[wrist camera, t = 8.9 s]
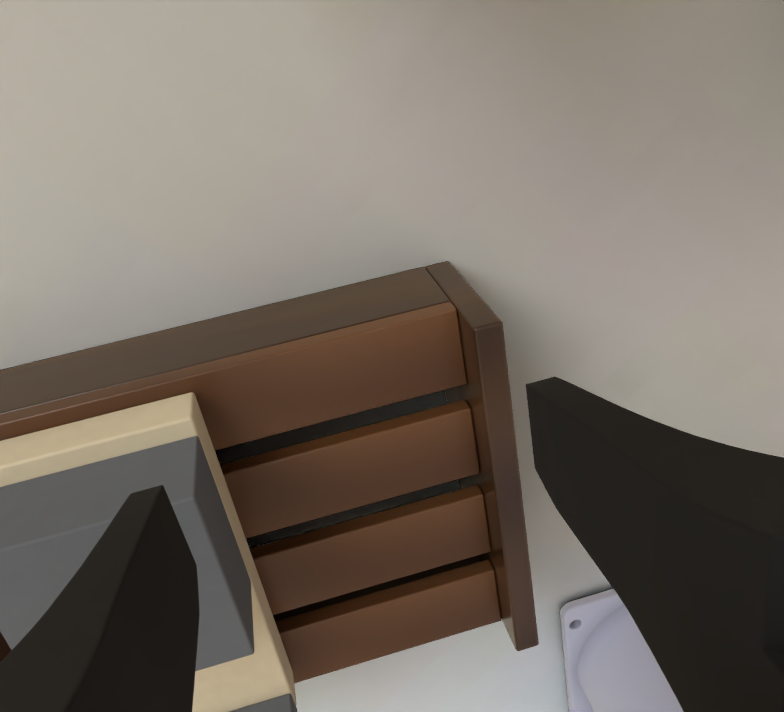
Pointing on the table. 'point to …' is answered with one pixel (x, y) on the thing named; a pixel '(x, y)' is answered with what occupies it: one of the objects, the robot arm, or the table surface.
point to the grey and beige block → (95, 513)
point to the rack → (340, 455)
